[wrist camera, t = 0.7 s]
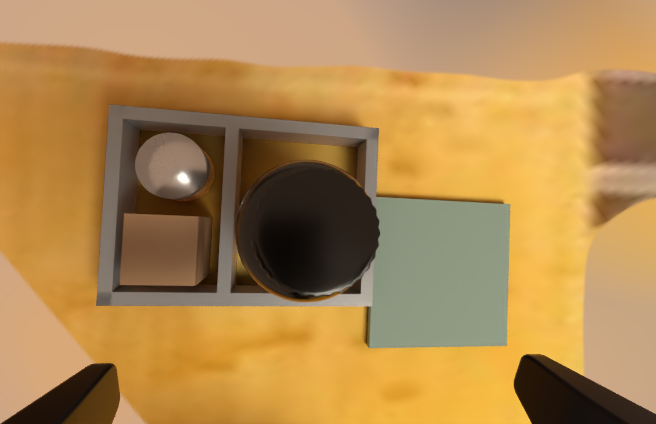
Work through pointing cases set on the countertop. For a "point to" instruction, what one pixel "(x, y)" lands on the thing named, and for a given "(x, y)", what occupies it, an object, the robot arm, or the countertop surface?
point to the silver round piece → (174, 167)
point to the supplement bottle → (306, 231)
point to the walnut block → (165, 250)
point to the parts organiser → (234, 128)
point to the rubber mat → (440, 274)
